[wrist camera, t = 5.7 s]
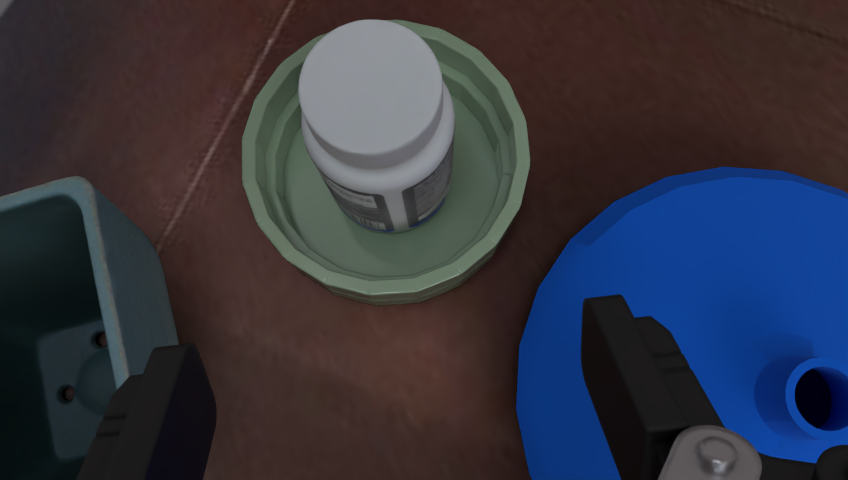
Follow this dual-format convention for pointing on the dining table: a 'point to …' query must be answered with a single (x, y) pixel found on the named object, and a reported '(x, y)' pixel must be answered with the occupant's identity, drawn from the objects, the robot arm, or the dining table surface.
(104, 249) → the flower pot
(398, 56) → the pill bottle
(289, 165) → the bowl
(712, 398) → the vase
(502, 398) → the dining table surface
